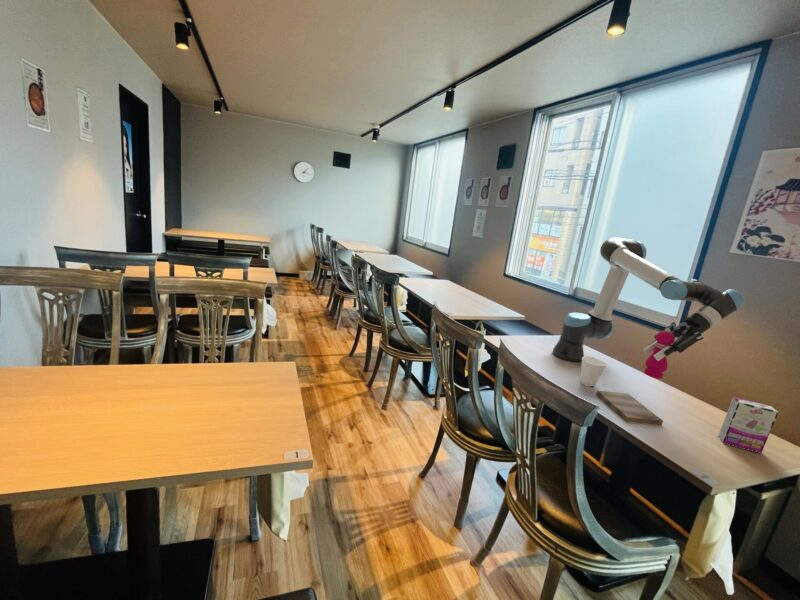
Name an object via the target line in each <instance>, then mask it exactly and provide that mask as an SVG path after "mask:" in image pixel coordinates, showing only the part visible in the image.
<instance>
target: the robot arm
mask: <svg viewBox="0 0 800 600" xmlns="http://www.w3.org/2000/svg"><path fill="white" fill-rule="evenodd" d="M599 252H600V253H599V254H600V256H601V257H602V258H603V259H604V260H605V261H606V262H608V264H609V266H610V268H609V271H608V273H607V276H606V277H605V279H604V282H603V285H602V288H601V290H600V292H599V295H598V298H597V300H596V302H595V305H594V307H593V309H591V310H589V311H588V313H587V314H586V313H582V312H569V313H567V314H566V315H565V318H564V320H563V325H562V329H561V332H560V336H559V340H558V341H557V343H556V344H555V345H554V347H553V349H552V354H553V355H554V356H556V357H558V358H560V359H562V360H565V361H569V362H573V363H582V357H585V354H584V344H585V340H587V339H589V340H603V339H607V338H609V337H610V336H611V335H612V334H613V332H614V323H613V316H612V314H613V311H614V308H615V307H616V304H617V302H618V299H619V297H620V295H621V292H622V290H623V288H624V286H625V283H626V281H627V278H628V277H629V274H632V275H634V276H635V277H637V278H638V279H640V280H641V281H643V282H645V283H646V284H648V285H650V286H651V287H653V288H654V289H656V290H658V291H659V292H660V294H661V296H662V297H663V298H664V299H668V300H671V301H687V302H697V303H698V304H699V305H702V306H701V307H700V308H699V309H697V310H695V311H694V312H693V313H691V314H690V315H689V316H687V317H686V318H685V320H684V321H683V322H680V323H676V322H675V321H673V322H671V323H670V325H668V326H667V327H665V328H664V329H662V330H661V331H660V332H662V331H665V329H666V328H669V329H670V330H671V331H670V332H669V333H671V334H673V335H674V337H675V338H677V339H676V340H675V341H674V343H672V344H670V346H671V347H670V346H667V347H665V348H664V349H662V350H661V351H659V352H658V353H656V354H655V355H654V357H655V359H656V360H657V361H659V360H661V359H662V358H664V357H665V356H669V355H671V354H673V353H675V352H678V353H683V352H684V351H686V350H687V349H688V348H691V346H693V345H694V344H696V343H698V342H699V341H702V340H703V339H704V336H703V333H705V332H707V331H708V330H709V329H711V328H712V327H714V326H716V325H717V324H718V323H719V322H721V321H722V320H724V319H725V318H727V317H728V316H729V315H732V314H733V313H734V312H737V311H738V310H739V309H740V308H741V307H743V306H744V305H745V304H746V298H745V296H744V295H743V294H742V293H741V292H740V291H738V290H736V289H731V288H729V289H727V290H724V291H722V290H719V289H716V288H714V287H712V286H711V285H708V284H706V282H705V283H704V282H703V281H701V280H697V279H696V278H690V279H688V280H686V281H684V280H682V279H680V278H678V277H676V276H674V275H673V274H671V273H670V272H668V271H666V270H664V269H662V268H660V267H658V266H656V265H655V264H653V263H652V262H649V261H647V260H646V257H647V248H646V246H645V244H644V243H643V242H641V241H639V240H636V239H630V238H623V237H611V238H608V239H606V240H605V241H604V242H603V243H602V244H601V246H600V250H599ZM656 335H657V334H654V335H653V337H654V339H655V340H654V341H652V342H651V343H650V344H648V346H646V347H645V348H644V349H642V351H643V352H644V353H645V355H646V356H648V355H649V356H650V355H651V354H652V353H653V352H654V350H655V347H656V346H655V344H656V342H657V340H656Z"/></svg>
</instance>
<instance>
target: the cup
mask: <svg viewBox="0 0 800 600" xmlns="http://www.w3.org/2000/svg"><path fill="white" fill-rule="evenodd" d="M606 366H607V363H606V362H604V361H603V360H601V359H599V358H595V357H592V356H584V357H582V362H581V366H580V367H581V369H580V377H579V380H580V381H579V382H580V383H581V384H582V385H585V386H586V385H587V386H586V387H590V386H593V387H595V386H596V385H597V383H598V380H599V379H600V377H601V375H602V373H603V372H604V369H605V367H606Z"/></svg>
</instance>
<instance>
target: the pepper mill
mask: <svg viewBox="0 0 800 600" xmlns="http://www.w3.org/2000/svg"><path fill="white" fill-rule="evenodd" d="M665 328H666V329H665ZM665 328H664V329H665V331H662V330H661V331H662V332H661V331H659V332H658V333H656V334H655V335H656V339H655V340H657V342H656V344H655V346H656V347H655V350H654V351H653V352H652V353H651V354H650V355H649V357H648V358H647V359H646V360H645V367H644V370H643V373H644V374H645V375H646V376H648V377H650V378H653V379H659V380H661V379H663V377H664V373H665V372H666V371H667V369H668V359H667V356H665V357H664V358H662V359H661V360H659V361H657V360H656V359H655V357H654V355H655V354H656V353H658V352H659V351H661V350H662V349H664V348H665V347H667V346H670V344H671V345H672V344H673V343H674V342H675V341H676V340H675V339H676V337H674V335H673V334H671V333H669V332H670V331H671V330H670V329H669V328H667V327H665ZM670 347H671V346H670Z"/></svg>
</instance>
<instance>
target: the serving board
mask: <svg viewBox="0 0 800 600" xmlns="http://www.w3.org/2000/svg"><path fill="white" fill-rule="evenodd" d="M595 395H596V396H597V397H598V398H599V399H600V400H601V401H603V403H604V404H606V405H607V407H609V408H610V409H611V410H613V412H615V414H617V416H619V417H620V418H621V419H622V420H623V421H624V422H626V423H633V424H642V425H643V424H644V425H653V426H662V425H663V423H664V420H663V419H662V418H660V417H659V416H658V415H656V413H654V412H653V411H651V410H650V409H649V408H648V407H646V406H645V405H644V404H642V403H641V402H640V401H638V400H637V399H636V398H635V397H633V396H632V395H631V394H629V393H628V392H616V391H606V390H599V389H597V390H596V392H595Z"/></svg>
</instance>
